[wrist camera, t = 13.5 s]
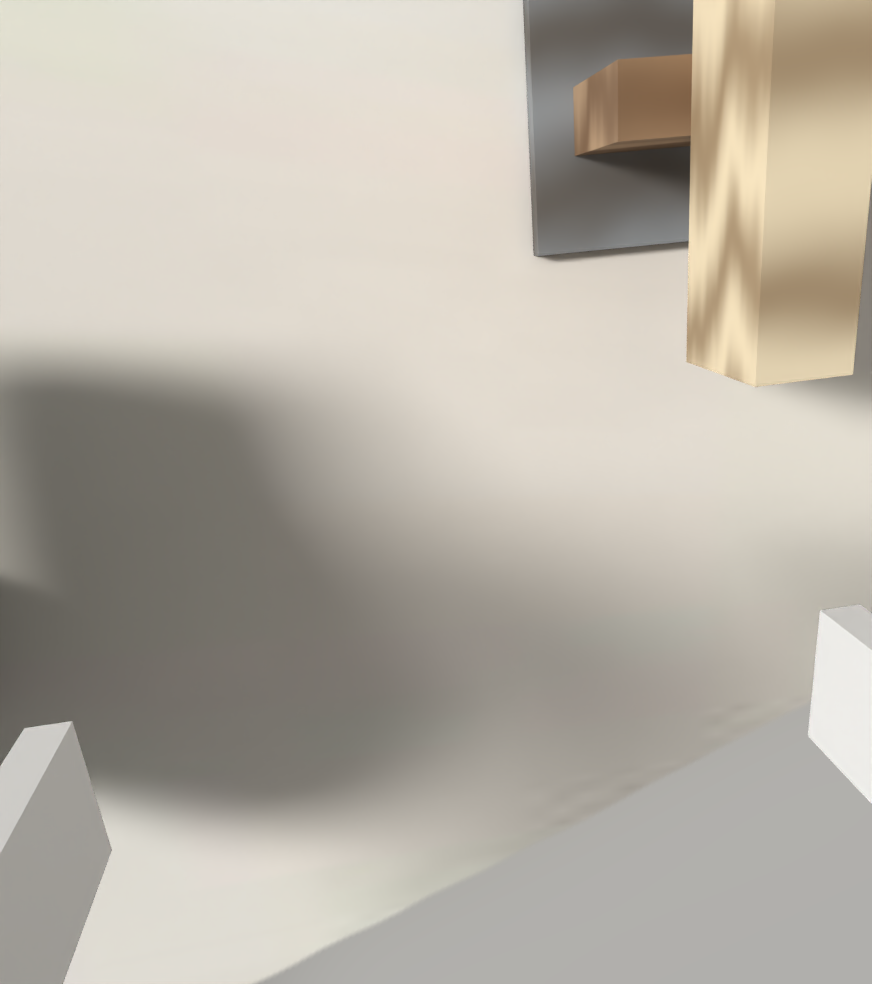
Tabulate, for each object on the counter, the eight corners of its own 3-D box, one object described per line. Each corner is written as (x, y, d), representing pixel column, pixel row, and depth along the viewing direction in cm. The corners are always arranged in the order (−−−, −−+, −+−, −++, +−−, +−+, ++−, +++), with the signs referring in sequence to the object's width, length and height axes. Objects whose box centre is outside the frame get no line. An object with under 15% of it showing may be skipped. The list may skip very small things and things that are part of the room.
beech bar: (768, 351, 34) (852, 374, 29) (686, 361, 34) (755, 386, 29) (802, -251, 27) (925, -379, 21) (698, -246, 27) (794, -374, 21)
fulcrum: (788, 230, 40) (877, 229, 33) (533, 255, 39) (574, 259, 32) (816, -188, 34) (932, -290, 27) (515, -174, 32) (561, -277, 26)
